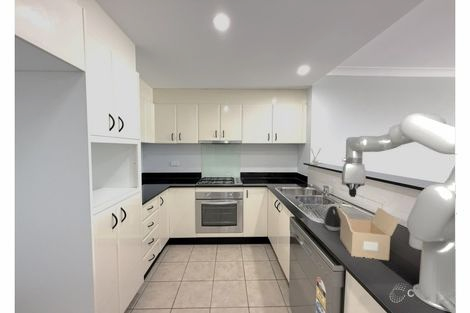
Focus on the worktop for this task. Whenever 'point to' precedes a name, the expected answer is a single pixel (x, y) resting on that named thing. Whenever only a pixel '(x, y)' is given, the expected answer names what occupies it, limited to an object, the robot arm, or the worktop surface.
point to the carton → (365, 239)
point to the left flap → (344, 218)
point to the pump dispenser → (332, 219)
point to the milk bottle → (415, 242)
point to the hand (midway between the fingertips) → (352, 196)
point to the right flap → (385, 221)
